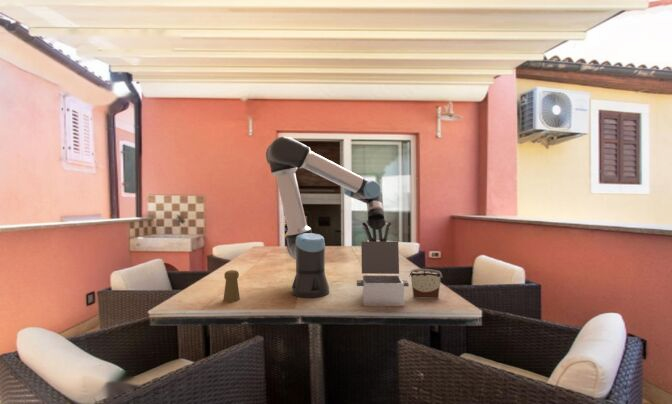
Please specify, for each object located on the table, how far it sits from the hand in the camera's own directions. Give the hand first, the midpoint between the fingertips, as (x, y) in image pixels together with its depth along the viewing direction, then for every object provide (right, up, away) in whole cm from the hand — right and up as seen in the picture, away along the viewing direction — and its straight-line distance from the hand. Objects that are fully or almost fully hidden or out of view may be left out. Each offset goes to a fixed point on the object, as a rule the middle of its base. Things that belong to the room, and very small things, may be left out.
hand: (379, 255), depth 131 cm
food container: (+17, -15, -6) cm, 23 cm away
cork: (-57, -15, -10) cm, 60 cm away
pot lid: (0, 0, -5) cm, 5 cm away
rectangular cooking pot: (-1, -15, -12) cm, 19 cm away
